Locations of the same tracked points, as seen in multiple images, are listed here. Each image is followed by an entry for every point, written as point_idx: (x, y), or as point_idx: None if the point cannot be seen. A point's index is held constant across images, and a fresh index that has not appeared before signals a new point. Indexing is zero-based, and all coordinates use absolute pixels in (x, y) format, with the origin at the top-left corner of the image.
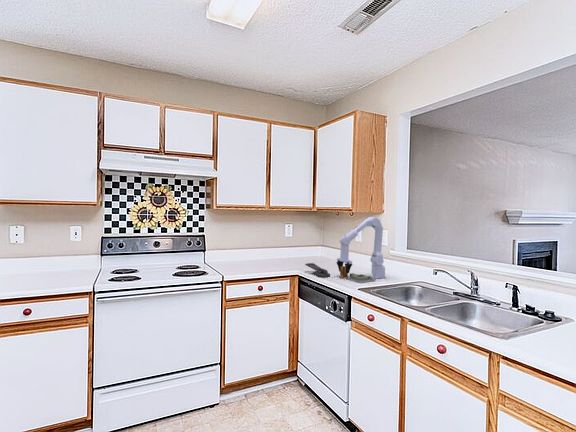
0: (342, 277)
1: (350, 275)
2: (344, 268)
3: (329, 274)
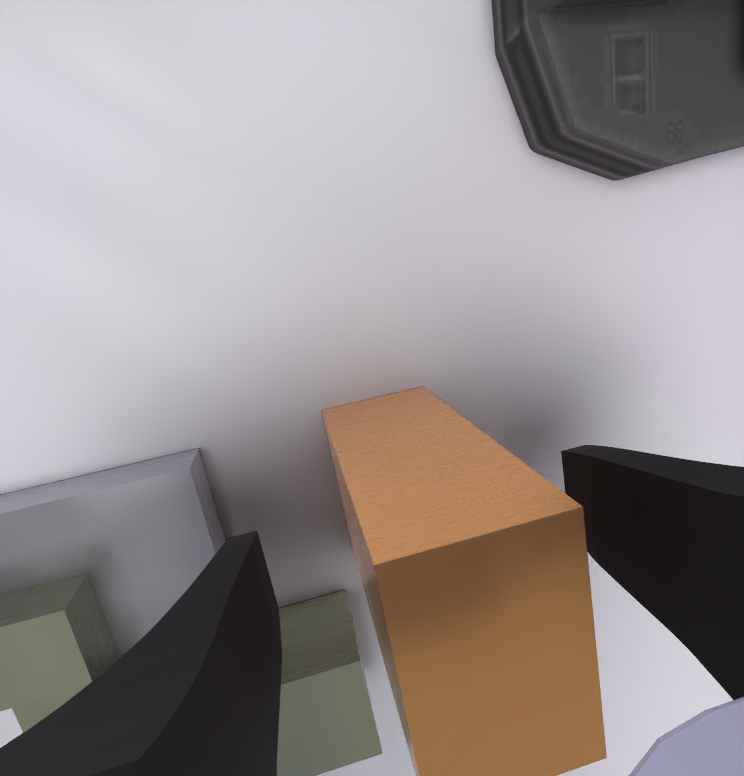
0: (337, 411)
1: (320, 638)
2: (377, 598)
3: (559, 90)
